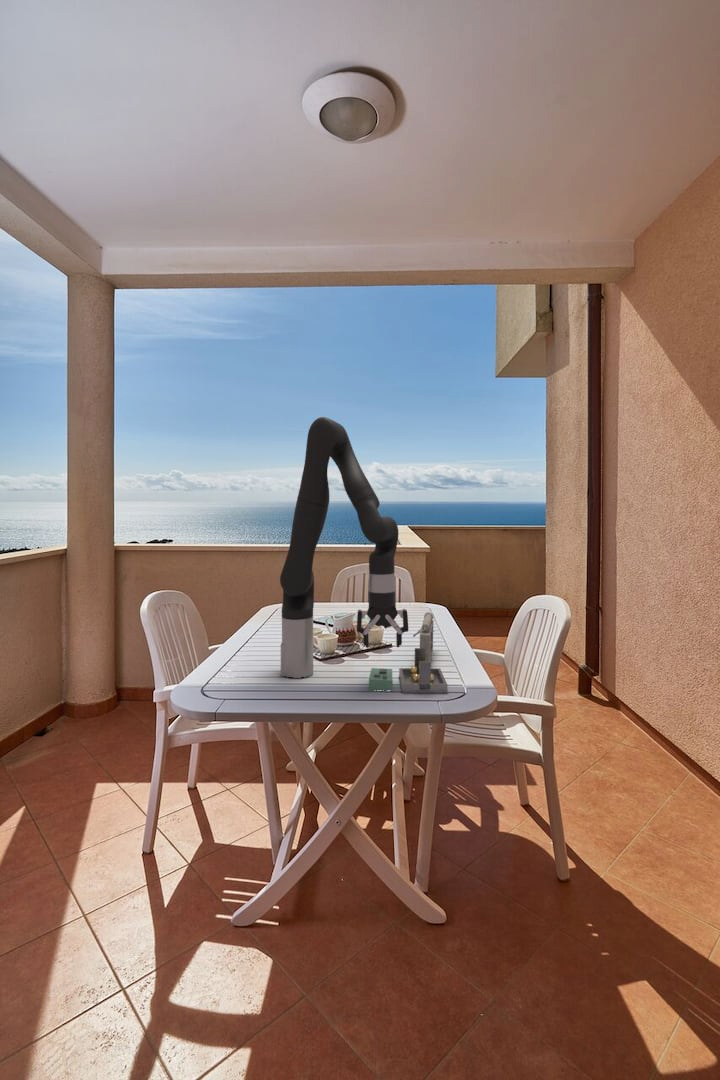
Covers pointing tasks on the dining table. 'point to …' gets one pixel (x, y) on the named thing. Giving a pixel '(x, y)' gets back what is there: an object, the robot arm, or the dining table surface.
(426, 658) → the grey upright lever device
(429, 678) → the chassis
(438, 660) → the dining table surface
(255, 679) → the dining table surface
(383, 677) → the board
